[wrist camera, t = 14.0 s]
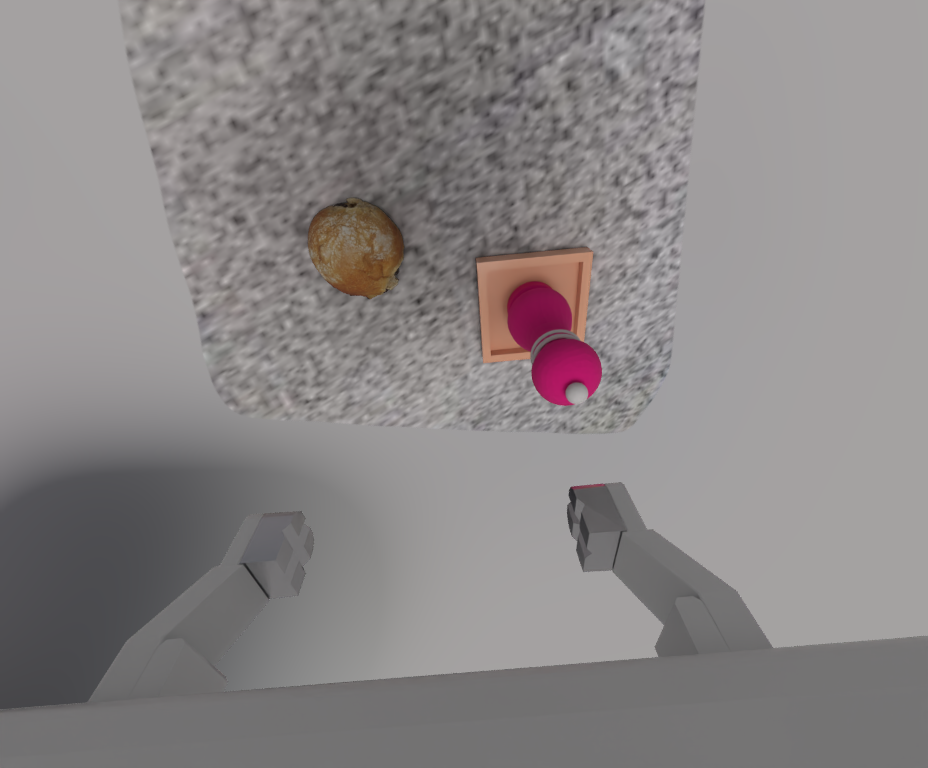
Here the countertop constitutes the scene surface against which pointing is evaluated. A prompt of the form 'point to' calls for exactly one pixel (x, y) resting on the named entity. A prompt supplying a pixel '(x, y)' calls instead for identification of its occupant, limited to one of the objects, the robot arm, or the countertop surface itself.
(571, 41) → the countertop surface
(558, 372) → the pepper mill
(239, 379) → the countertop surface
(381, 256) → the bread roll
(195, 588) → the robot arm
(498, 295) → the terracotta tray
